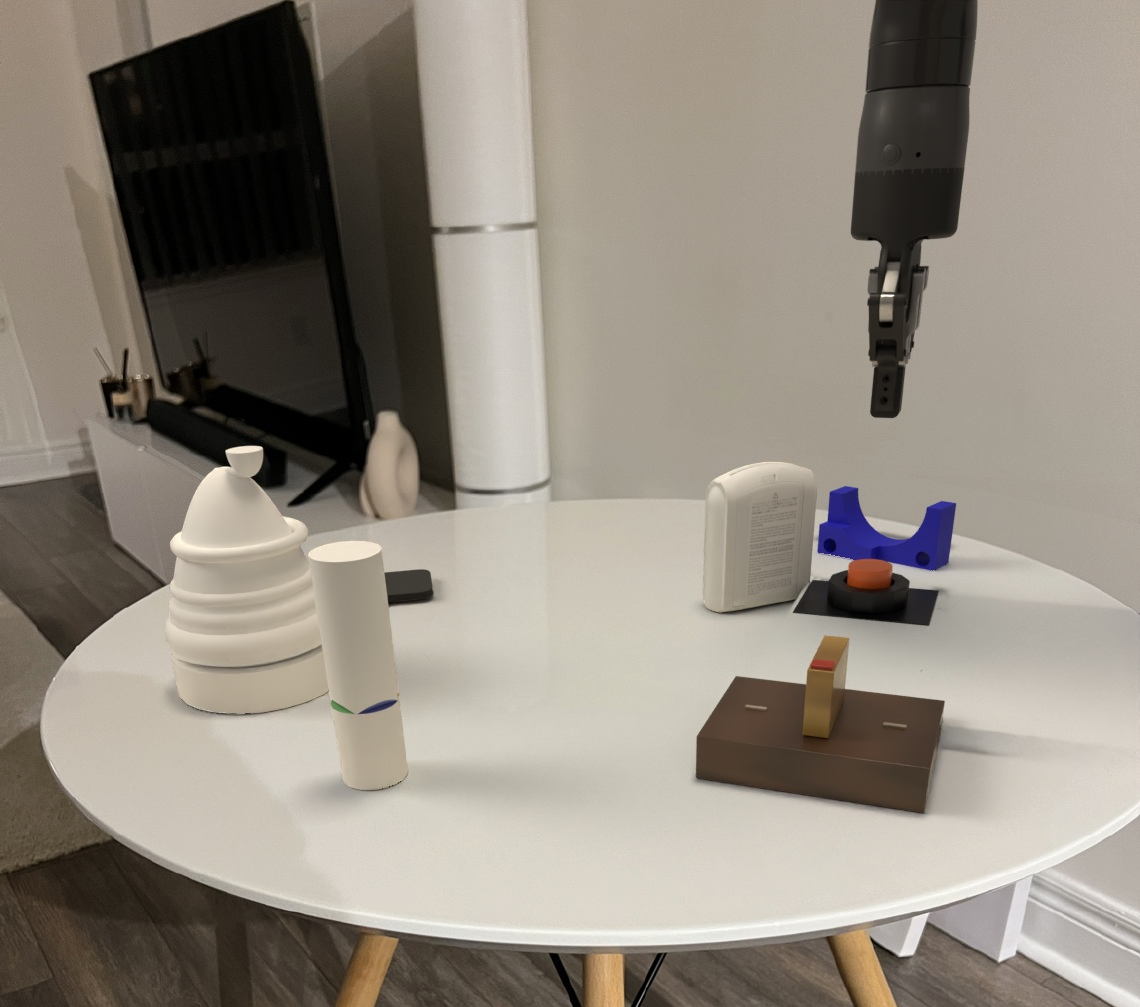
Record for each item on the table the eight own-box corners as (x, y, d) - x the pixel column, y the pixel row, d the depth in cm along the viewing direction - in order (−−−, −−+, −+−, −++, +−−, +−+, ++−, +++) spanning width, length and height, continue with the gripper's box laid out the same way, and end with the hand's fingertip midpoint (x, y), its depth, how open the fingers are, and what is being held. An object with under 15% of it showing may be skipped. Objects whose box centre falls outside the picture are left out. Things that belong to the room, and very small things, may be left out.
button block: (936, 608, 94) (941, 570, 92) (926, 644, 87) (931, 603, 85) (810, 597, 98) (813, 560, 96) (791, 631, 91) (793, 591, 89)
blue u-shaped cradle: (817, 553, 110) (821, 494, 107) (840, 543, 112) (845, 485, 110) (926, 575, 102) (934, 513, 99) (948, 564, 105) (956, 503, 102)
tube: (352, 758, 72) (321, 541, 65) (414, 759, 72) (389, 540, 65) (333, 789, 69) (298, 562, 62) (399, 790, 68) (370, 562, 61)
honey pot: (370, 655, 89) (341, 432, 81) (295, 721, 78) (252, 471, 70) (234, 645, 92) (192, 430, 84) (143, 706, 81) (85, 466, 73)
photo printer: (789, 585, 101) (797, 452, 95) (816, 598, 97) (827, 460, 92) (694, 604, 97) (697, 466, 92) (720, 618, 94) (724, 476, 88)
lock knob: (819, 697, 71) (824, 631, 69) (844, 700, 71) (849, 633, 69) (802, 735, 66) (807, 665, 64) (828, 738, 66) (834, 668, 64)
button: (893, 580, 92) (895, 560, 91) (887, 593, 89) (889, 573, 88) (850, 576, 93) (852, 557, 92) (843, 589, 90) (845, 569, 89)
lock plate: (939, 741, 72) (945, 698, 70) (924, 813, 63) (930, 766, 62) (734, 714, 76) (735, 673, 75) (695, 778, 68) (696, 733, 67)
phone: (276, 582, 105) (429, 567, 107) (277, 590, 105) (430, 576, 107) (269, 606, 98) (433, 591, 100) (271, 615, 99) (434, 599, 100)
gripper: (957, 161, 70) (926, 434, 78) (971, 163, 81) (942, 403, 89) (841, 166, 72) (822, 430, 80) (869, 168, 83) (850, 400, 91)
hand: (885, 415), depth 84 cm, fingers closed
